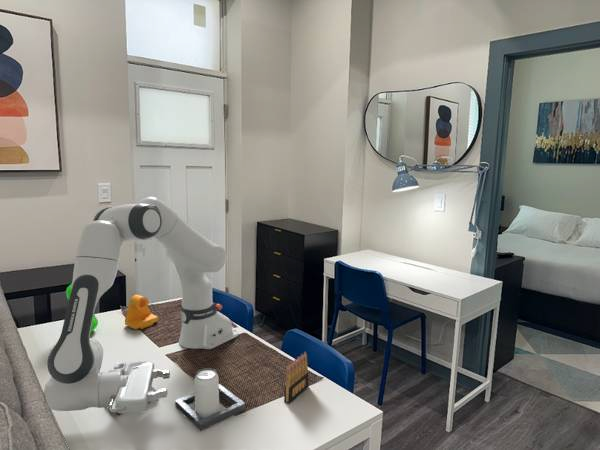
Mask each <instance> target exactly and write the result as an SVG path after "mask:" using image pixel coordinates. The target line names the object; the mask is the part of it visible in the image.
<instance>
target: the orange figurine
mask: <svg viewBox="0 0 600 450" xmlns="http://www.w3.org/2000/svg"><path fill="white" fill-rule="evenodd" d="M148 305H149V299H148V298H147V297H145V296H143V295H140V294H134V295H133V296H132V297H131V298H130V301H129V303H128V306H127V311H126V315H125V318H124V325H125V326H127V327H129V328H132V329H134V330H137V329H140V330H143V329H145V328H148V327H150V326H153V325H154V323H156V322H159V321H158V317H159V316H158V315H155V314H153V313H152V312H151V310H150V308H149V307H150V306H148Z"/></svg>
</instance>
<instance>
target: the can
mask: <svg viewBox="0 0 600 450" xmlns="http://www.w3.org/2000/svg"><path fill="white" fill-rule="evenodd" d="M217 372H218V371H217V370H216V369H214V368H212V367H207V368H201V369H198V371H196V372H195V377H194V380H193V383H194V392H195V402H194V409H195V410H194V412H196V413H197V414H198V415H199V416H200V417H201V418H202V419H204V418H206V417H209V416H211V415H213V414H215V413H217V412H219V411H220V395H219V384H220V382H219V380H220V379H219V375H218V373H217Z"/></svg>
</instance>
